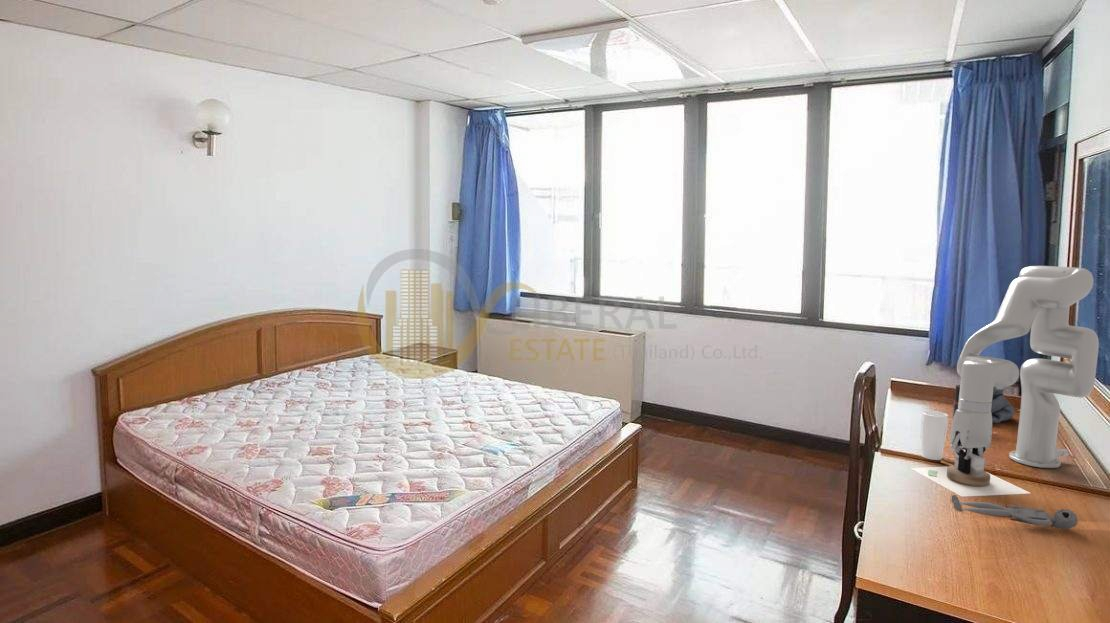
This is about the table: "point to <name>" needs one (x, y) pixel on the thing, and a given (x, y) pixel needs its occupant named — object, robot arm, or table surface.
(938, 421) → the white cup
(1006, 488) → the white square board
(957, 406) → the deodorant
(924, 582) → the table surface
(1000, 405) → the koala plush
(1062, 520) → the alien figure
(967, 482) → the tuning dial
